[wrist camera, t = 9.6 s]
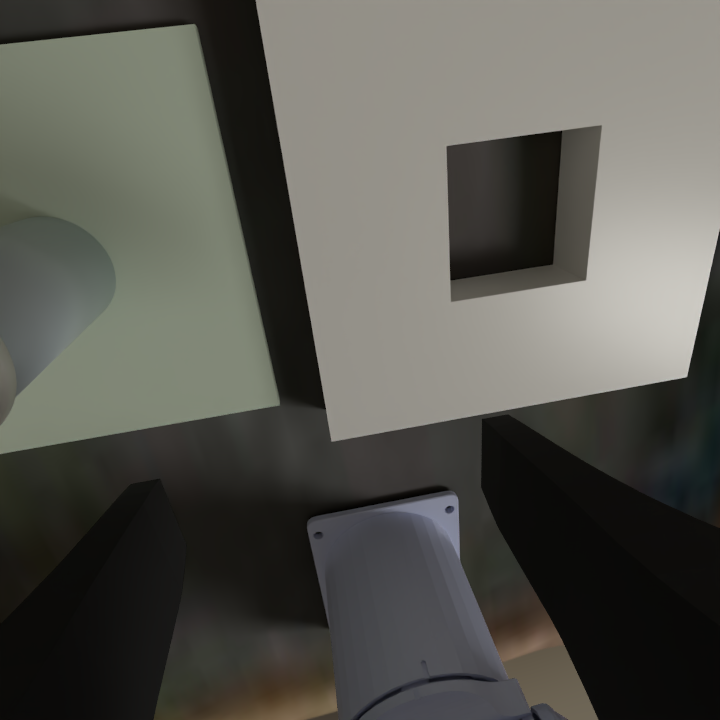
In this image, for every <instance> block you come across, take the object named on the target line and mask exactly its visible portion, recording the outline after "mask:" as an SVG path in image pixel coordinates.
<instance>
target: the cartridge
mask: <svg viewBox="0 0 720 720" xmlns="http://www.w3.org/2000/svg"><path fill="white" fill-rule="evenodd" d="M115 288H116V276H115V270H114V267H113V264H112V261H111V259H110V257H109V255H108V254H107V252H106V250H105V249H104V248H103V246H102V245H101V244H100V243H99V242H98V241H97V240H96V238H94V237H93V236H92V235H91V234H90V233H88V232H87V231H86V230H84V229H83V228H81V227H79V226H77V225H75V224H73V223H71V222H69V221H66V220H63V219H59V218H54V217H45V216H39V217H31V218H26V219H23V220H20V221H16V222H13V223H10V224H7V225H4V226H1V227H0V425H1V424H2V423H3V422H4V421H5V419H6V418H7V416H8V415H9V413H10V411H11V409H12V407H13V404H14V400H15V398H16V397H17V396H18V395H19V394H20V393H21V392H22V391H23V390H24V389H25V388H26V387H27V386H28V385H29V384H30V383H31V382H32V381H33V380H34V379H35V378H36V377H37V376H38V375H39V374H40V373H41V372H42V371H43V370H44V369H45V368H46V367H47V366H48V365H49V364H50V363H51V362H52V361H53V360H54V359H55V358H56V357H57V356H59V355H60V354H61V353H62V352H63V351H64V350H65V349H66V348H67V347H68V346H69V345H70V344H71V343H72V342H73V341H74V340H75V339H76V338H77V337H78V336H79V335H80V334H81V333H82V332H83V331H84V330H85V329H86V328H87V327H88V326H89V325H90V324H91V323H92V322H93V321H94V320H95V319H96V318H97V317H98V316H99V315H100V314H101V313H102V312H103V311H104V310H106V308H107V307H108V306H109V304H110V303H111V301H112V299H113V296H114V293H115Z"/></svg>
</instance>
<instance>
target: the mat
mask: <svg viewBox="0 0 720 720" xmlns="http://www.w3.org/2000/svg"><path fill="white" fill-rule="evenodd" d="M39 216H45V217H54V218H59V219H63V220H66V221H69V222H71V223H73V224H75V225H77V226H79V227H81V228H83V229H84V230H86V231H87V232H88V233H90V234H91V235H92V236H93V237H94V238H96V240H97V241H98V242H99V243H100V244H101V245H102V246H103V248H104V249H105V250H106V252H107V254H108V255H109V257H110V259H111V261H112V264H113V267H114V270H115V276H116V288H115V293H114V296H113V299H112V301H111V303H110V304H109V306H108V307H107V308H106V310H104V311H103V312H102V313H101V314H100V315H99V316H98V317H97V318H96V319H95V320H94V321H93V322H92V323H91V324H90V325H89V326H88V327H87V328H86V329H85V330H84V331H83V332H82V333H81V334H80V335H79V336H78V337H77V338H76V339H75V340H74V341H73V342H72V343H71V344H70V345H69V346H68V347H67V348H66V349H65V350H64V351H63V352H62V353H61V354H60V355H59V356H57V357H56V358H55V359H54V360H53V361H52V362H51V363H50V364H49V365H48V366H47V367H46V368H45V369H44V370H43V371H42V372H41V373H40V374H39V375H38V376H37V377H36V378H35V379H34V380H33V381H32V382H31V383H30V384H29V385H28V386H27V387H26V388H25V389H24V390H23V391H22V392H21V393H20V394H19V395H18V396H17V397H16V398H15V400H14V404H13V407H12V409H11V411H10V413H9V415H8V416H7V418H6V419H5V421H4V422H3V423H2V424H1V425H0V454H2V453H8V452H14V451H19V450H25V449H31V448H37V447H42V446H48V445H54V444H60V443H65V442H71V441H77V440H83V439H88V438H94V437H100V436H106V435H111V434H117V433H123V432H129V431H134V430H140V429H146V428H151V427H157V426H163V425H169V424H174V423H180V422H186V421H192V420H197V419H203V418H209V417H215V416H220V415H226V414H232V413H238V412H243V411H249V410H255V409H261V408H266V407H272V406H278V405H280V398H279V394H278V389H277V385H276V380H275V376H274V371H273V367H272V362H271V358H270V353H269V349H268V344H267V340H266V335H265V331H264V326H263V322H262V317H261V313H260V308H259V304H258V299H257V295H256V290H255V286H254V281H253V277H252V272H251V268H250V263H249V258H248V254H247V249H246V245H245V240H244V236H243V231H242V227H241V222H240V218H239V213H238V209H237V204H236V200H235V195H234V191H233V186H232V182H231V177H230V173H229V168H228V164H227V159H226V155H225V150H224V146H223V141H222V137H221V132H220V128H219V123H218V119H217V114H216V109H215V105H214V100H213V96H212V91H211V87H210V82H209V78H208V73H207V69H206V64H205V60H204V55H203V51H202V46H201V42H200V37H199V33H198V28H197V26H196V25H195V24H189V25H180V26H171V27H161V28H152V29H142V30H133V31H124V32H114V33H105V34H96V35H86V36H77V37H67V38H58V39H49V40H39V41H30V42H21V43H11V44H2V45H0V227H1V226H4V225H7V224H10V223H13V222H16V221H20V220H23V219H26V218H31V217H39Z"/></svg>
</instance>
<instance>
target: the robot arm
mask: <svg viewBox="0 0 720 720" xmlns="http://www.w3.org/2000/svg"><path fill="white" fill-rule="evenodd" d="M481 488H482V490H483V493H484V495H485V498H486V500H487V503H488V505H489V507H490V510H491V512H492V514H493V517H494V519H495V521H496V524H497V526H498V528H499V530H500V531H501V533H502V535H503V537H504V539H505V540H506V542H507V544H508V546H509V547H510V549H511V551H512V553H513V554H514V556H515V558H516V560H517V561H518V563H519V565H520V566H521V568H522V570H523V572H524V573H525V575H526V577H527V578H528V580H529V582H530V584H531V585H532V587H533V589H534V591H535V592H536V594H537V596H538V597H539V599H540V601H541V603H542V604H543V606H544V608H545V609H546V611H547V613H548V615H549V616H550V618H551V620H552V622H553V624H554V626H555V627H556V629H557V631H558V633H559V635H560V637H561V639H562V641H563V643H564V645H565V647H566V649H567V651H568V653H569V656H570V658H571V660H572V662H573V664H574V666H575V669H576V671H577V673H578V675H579V677H580V679H581V681H582V684H583V686H584V688H585V690H586V692H587V694H588V697H589V699H590V701H591V704H592V706H593V708H594V710H595V713H596V715H597V717H598V719H599V720H720V528H718V527H715V526H713V525H711V524H708V523H706V522H703V521H701V520H699V519H696V518H694V517H692V516H690V515H688V514H685V513H683V512H681V511H679V510H677V509H674V508H672V507H670V506H668V505H666V504H663V503H661V502H659V501H657V500H655V499H653V498H651V497H649V496H647V495H645V494H643V493H641V492H639V491H637V490H635V489H633V488H631V487H629V486H628V485H626V484H624V483H622V482H620V481H618V480H616V479H614V478H613V477H611V476H609V475H607V474H605V473H604V472H602V471H600V470H598V469H596V468H595V467H593V466H591V465H589V464H588V463H586V462H584V461H583V460H581V459H579V458H578V457H576V456H574V455H573V454H571V453H569V452H568V451H566V450H564V449H563V448H561V447H560V446H558V445H556V444H555V443H553V442H552V441H550V440H548V439H547V438H545V437H544V436H542V435H540V434H539V433H537V432H536V431H534V430H532V429H531V428H529V427H528V426H526V425H525V424H523V423H521V422H520V421H518V420H516V419H515V418H513V417H511V416H510V415H502V416H497V417H492V418H486V419H482V470H481ZM448 506H451V507H449V508H446V507H448ZM307 531H308V535H309V540H310V544H311V549H312V553H313V558H314V562H315V566H316V571H317V575H318V580H319V584H320V589H321V593H322V598H323V602H324V607H325V611H326V616H327V620H328V625H329V629H330V634H331V645H332V655H333V666H334V676H335V687H336V697H337V708H338V718H339V720H568V719H566V718H565V717H563V716H562V715H560V714H559V713H557V712H555V711H554V710H553V709H552V708H551V707H550V706H549V705H547V704H543V703H542V704H538V705H535V706H532V707H531V711H530V708H529V706H528V704H527V702H526V699H525V697H524V694H523V692H522V690H521V688H520V686H519V683H518V681H517V679H515V678H512V679H508V676H507V674H506V671H505V669H504V666H503V664H502V662H501V659H500V657H499V654H498V652H497V650H496V647H495V645H494V642H493V640H492V638H491V635H490V633H489V630H488V628H487V625H486V623H485V621H484V618H483V616H482V613H481V611H480V609H479V606H478V604H477V601H476V599H475V597H474V594H473V592H472V589H471V587H470V584H469V582H468V580H467V577H466V575H465V572H464V570H463V568H462V565H461V563H460V546H459V510H458V498H457V496H456V494H455V493H454V492H453V491H443V492H438V493H433V494H428V495H423V496H417V497H412V498H407V499H402V500H397V501H392V502H387V503H381V504H376V505H371V506H366V507H361V508H356V509H351V510H345V511H340V512H335V513H330V514H325V515H320V516H315V517H312V518H310V519H309V520H308V522H307ZM316 532H321V533H319V534H316ZM186 547H187V545H186V543H185V540H184V538H183V535H182V533H181V530H180V528H179V525H178V523H177V520H176V518H175V515H174V513H173V510H172V508H171V505H170V503H169V501H168V498H167V496H166V493H165V491H164V488H163V486H162V483H161V481H160V479H156V480H151V481H145V482H140V483H135V484H131V485H130V486H129V487H128V488H127V489H126V490H125V491H124V492H123V493H122V494H121V495H120V496H119V497H118V499H117V500H116V501H115V502H114V503H113V504H112V505H111V506H110V508H109V509H108V510H107V511H106V512H105V513H104V514H103V516H102V517H101V518H100V519H99V520H98V521H97V522H96V523H95V525H94V526H93V527H92V528H91V529H90V530H89V531H88V533H87V534H86V535H85V536H84V537H83V538H82V539H81V540H80V541H79V543H78V544H77V545H76V546H75V547H74V548H73V549H72V550H71V551H70V553H69V554H68V555H67V556H66V557H65V558H64V559H63V560H62V561H61V563H60V564H59V565H58V566H57V567H56V568H55V569H54V570H53V571H52V572H51V573H50V574H49V575H48V576H47V577H46V578H45V579H44V580H43V581H42V582H41V583H40V585H39V586H38V587H37V588H36V589H35V590H34V591H33V592H32V593H31V594H30V595H29V596H28V597H27V598H26V599H25V600H24V601H23V602H22V603H21V604H20V605H19V606H18V607H17V608H16V609H15V610H14V611H13V612H12V613H11V614H10V615H9V616H8V617H7V618H6V619H5V620H4V621H3V622H2V623H1V624H0V720H153V719H154V714H155V709H156V704H157V700H158V695H159V691H160V687H161V683H162V678H163V674H164V670H165V665H166V661H167V657H168V652H169V648H170V644H171V639H172V635H173V631H174V626H175V622H176V617H177V613H178V609H179V604H180V599H181V595H182V588H183V579H184V571H185V559H186Z"/></svg>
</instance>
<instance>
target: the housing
mask: <svg viewBox="0 0 720 720" xmlns="http://www.w3.org/2000/svg"><path fill="white" fill-rule="evenodd" d="M256 6H257V11H258V17H259V23H260V29H261V35H262V40H263V46H264V52H265V58H266V64H267V70H268V75H269V81H270V87H271V93H272V99H273V104H274V110H275V116H276V122H277V128H278V133H279V139H280V145H281V151H282V157H283V162H284V168H285V174H286V180H287V186H288V191H289V197H290V203H291V209H292V215H293V220H294V226H295V232H296V238H297V244H298V249H299V255H300V261H301V267H302V273H303V278H304V284H305V290H306V296H307V302H308V308H309V313H310V319H311V325H312V331H313V337H314V342H315V348H316V354H317V360H318V366H319V371H320V377H321V383H322V389H323V395H324V400H325V406H326V412H327V418H328V424H329V429H330V435H331V441H332V442H333V441H338V440H344V439H349V438H355V437H360V436H366V435H371V434H377V433H382V432H388V431H393V430H399V429H404V428H410V427H415V426H421V425H426V424H432V423H437V422H443V421H448V420H454V419H459V418H465V417H470V416H476V415H481V414H487V413H492V412H498V411H503V410H509V409H514V408H520V407H525V406H531V405H536V404H542V403H547V402H553V401H558V400H564V399H569V398H575V397H580V396H586V395H591V394H597V393H602V392H608V391H613V390H619V389H624V388H630V387H635V386H641V385H646V384H651V383H657V382H662V381H668V380H673V379H679V378H684V377H687V374H688V369H689V365H690V360H691V356H692V351H693V347H694V342H695V338H696V333H697V329H698V324H699V320H700V315H701V311H702V306H703V302H704V297H705V292H706V288H707V283H708V279H709V274H710V270H711V265H712V261H713V256H714V252H715V247H716V243H717V238H718V234H719V229H720V0H256ZM561 130H562V143H561V157H560V171H559V186H558V200H557V215H556V229H555V243H554V258H553V265H546V266H540V267H534V268H527V269H521V270H515V271H508V272H502V273H496V274H489V275H483V276H476V277H470V278H464V279H457V280H451V281H450V256H449V223H448V189H447V155H446V146H449V145H456V144H464V143H471V142H479V141H486V140H494V139H501V138H509V137H516V136H524V135H531V134H539V133H546V132H554V131H561Z"/></svg>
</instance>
